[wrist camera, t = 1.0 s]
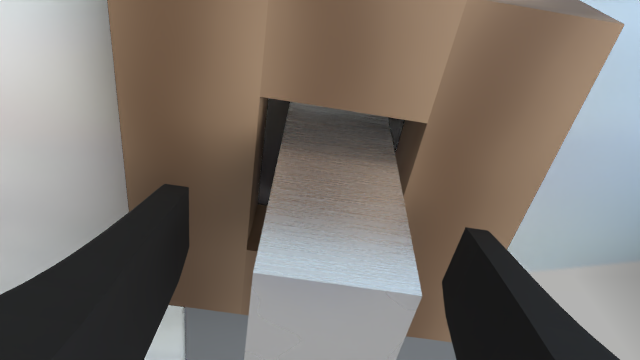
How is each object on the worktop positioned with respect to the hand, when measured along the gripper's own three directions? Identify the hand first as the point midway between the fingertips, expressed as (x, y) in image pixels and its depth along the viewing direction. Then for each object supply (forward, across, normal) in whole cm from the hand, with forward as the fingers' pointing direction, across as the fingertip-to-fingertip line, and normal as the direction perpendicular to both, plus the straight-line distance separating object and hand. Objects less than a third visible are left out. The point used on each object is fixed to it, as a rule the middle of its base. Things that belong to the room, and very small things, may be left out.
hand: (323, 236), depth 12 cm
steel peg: (+4, 0, 0) cm, 5 cm away
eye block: (+4, 0, 0) cm, 5 cm away
